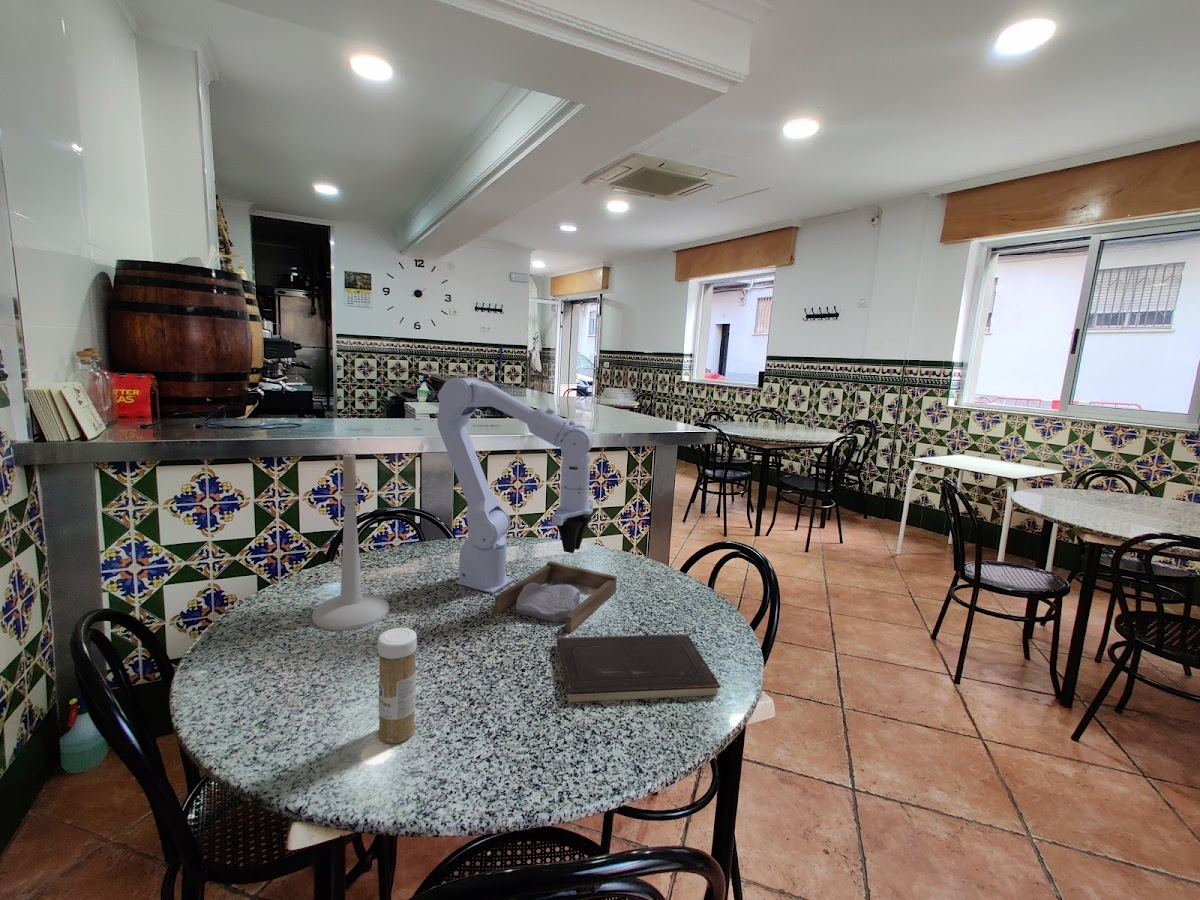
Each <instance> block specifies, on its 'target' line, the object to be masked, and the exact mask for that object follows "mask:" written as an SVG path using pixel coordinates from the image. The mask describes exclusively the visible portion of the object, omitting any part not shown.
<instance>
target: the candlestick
mask: <svg viewBox="0 0 1200 900" xmlns="http://www.w3.org/2000/svg"><path fill="white" fill-rule="evenodd" d="M356 468H357V466H356V454H350V452H348V454H343V455H342V469H343V471H342V476H343V477H342V478H343V483H342V484H343V487H342V488H343V490H341V491H339V492H338V495H340V496H341V503H342V504H343V506H344V512H343V527H342V528H343V530H342V531H343V533H342V556H341V558H342V559H341V577H340V578H341V579H340V582H341V584H340V595H337V596H334V597H331V598H330V599H328V600H326V601H325V600H324V602H322V603H320V605H318V606H317V607H316V608H315V609H314V610H313V612H312V617H311V618H312V623H313V624H314V625H315V626H317V627H318V628H321V629H324V630H331V631H347V630H348V631H349V630H355V629H360V628H365V627H368V626H370V625H373V624H375V623H378V622H379V621H381V620H383V619H384V618H385V617H387V615H388V613H389V611H390V605H389V603H388V601H387V600H386V599H384V598H383V597H381V596H379V595H376V594H372V593H366V592H363V591H362V589H363V587H362V577H361V562H360V550H359V549H360V548H359V547H360V546H359V534H358V522H357V519H358V518H357V511H356V504H357V503H358V502H359V498H358V496H359V495H360V494H361V493H362V491H360V490H357V485H356V483H357V481H356V480H357V479H356V478H357V477H356V475H357V473H356V471H357V470H356Z"/></svg>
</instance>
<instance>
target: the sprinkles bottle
mask: <svg viewBox="0 0 1200 900" xmlns="http://www.w3.org/2000/svg"><path fill="white" fill-rule="evenodd" d="M417 642H418V637H417V633H416V631H414V630H413V629H411V628H407V627H395V628H391V629H388V630H385V631H384V632H382V633H381V634H380V635H379V636H378V638H377V653H378V657H379V660H378V661H379V679H378V716H379V717H378V718H379V720H378V723H379V724H378V725H379V727H378V731H377V732H378V733H377V735H378V738H379V739H380V740H381V741H382V742H383V743H387V744H398V743H402V742H404V741H406V740H408V739H409V738H411V737H412V736H413V735H414V734H415V732H416V727H417V726H416V722H415V721H416V720H415V717H416V716H415V715H416V714H415V712H416V711H415V709H416V697H417V695H416V694H417V691H416V689H417V687H416V685H417V684H416V681H417V680H416V678H417V677H416V675H417V672H416V671H417V670H416V650H417V647H418V643H417Z"/></svg>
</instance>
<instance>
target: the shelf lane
mask: <svg viewBox="0 0 1200 900" xmlns="http://www.w3.org/2000/svg"><path fill="white" fill-rule="evenodd" d="M551 579H552V580H556V581H560V582H564V583H567V584H570V585H571V584H572V585H575V586H579V587H584V588H587V589H592V590H595V591H594V592H593V593H591V594H590V595H588V597H587V598H585V599H584V600H583V601H582V602H580V603H579V605H578V606H577V607H576V608H575V609H574V610H572V611H571V612H570V613H569V614H568V615H567V616H566V621H565V622H564V632H565V633H568V634H572V633H573V632H574V631H575V630H576V629H577V628H579V627H580V625H582V624H583V623H584V622H586V620H587V619H588V618H590V616H592V614H594V613H595V612H596V611H597V610H599V608H600V607H602V605H604V604H605V603H606V601H608V600H609V599H610V598H611V597H612V596H613V595H614V594H616V593H617V591H616V590H617V580H618V577H617V576H616V575H612V574H607V573H603V572H600V571H599V572H598V571H596V570H591V569H586V568H582V567H578V566H575V565H574V566H573V565H569V564H564V563H560V562H557V561H552V560H549V561H547V562H546V565H544V566H543V567H541V568H539V569H538V570H536V571H535V572H533V573H531V574H529V575H528V576H526V577H525V578H523V579H522V580H520V581H518V582H516V583H515V584H513V585H512V586H510V587H509V588H507V589H505V590H504V591H502V592H501V593H499V594H497V595H495V597H494V612H496V613H499V614H501V613H502V612H504V611H505V610H507V609H509V608H510V607H512V606H513V605H514V604H516V602H517V598H518V596H519V595H520V593H521V591H522V590H523V587H525V586H526V585H527V584H529V583H537V584H538V585H541V586H543V585H544V584H545V583H547V582H548V581H550V580H551Z"/></svg>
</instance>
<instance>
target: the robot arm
mask: <svg viewBox="0 0 1200 900" xmlns="http://www.w3.org/2000/svg"><path fill="white" fill-rule="evenodd" d="M437 398H438V399H437V400H438V402H439V405H438V411H437V413H438V414H437V421H436V422H437V423H436V424H437V428H438V431H439V433H440V436H441V439H442V441H443V444H444V446H445V450H446V452H447V454H448V457H449V459H450V462H451V465H452V467H453V471H454V472H455V475H456V478H457V480H458V483H459V485H460V489H461V491H462V493H463V496H464V499H465V502H466V504H467V509H466V515H465V519H466V522H467V525H468V527H467V536H468V539H467V540H466V541H464V543H463V544H462V546H461V547H460V551H459V555H458V556H459V558H458V559H459V560H458V561H459V562H458V564H459V565H458V566H459V567H458V580H457V581H456V584H458V585H461V586H464V587H469V588H471V589H476V590H478V591H479V590H480V591H483V592H487V593H490V594H494V593H495V592H498V591H499V590H501V589H503V588H504V587H505V586H507V585H508V584H510V583H512V582H514V578H513V577H509V576H506V575H507V571H506V569H507V546H508V545H507V544H508V542H507V541H508V540H507V539H506V533H507V532H508V531H509V530H510V527H511V517H510V515H509V514H508V513H507V511H506V510H505V509H504V508H503V507H502V505H501V502H500V501H499V499H497V498H496V497H495V496H493V494H492V491H491V489H490V486H489V484H488V481H487V479H486V475H485V473H484V470H483V469H482V466H481V463H480V460H479V457H478V455H477V453H476V449H475V445H473V442H472V439H471V436H470V434H469V431H468V428H467V424H468V423H469V420H470V418H471V416H472V415H473V413H474V412H475V411H476V410H477V409H478V408H480V407H481V408H483V407H484V408H485V407H492V408H494V409H496V410H498V411H501V413H504V414H507V415H509V417H512V418H514V419H517V420H519V421H520V422H523V423H524V424H526V426H527V428H528V431H529V432H530V434H533V435H534V436H536V437H538V438H540V439H542V440H543V441H545V442H546V443H549V444H551V445H553V446H554V447H556V448H559V449H560V451H561V452H562V463H561V478H560V479H561V480H560V499H559V506H558V507H557V509H556V511H555V512H554V513H553V514H552V515H551V524H552V525H555V526H556V528H557V531H558V532H559V535H560V539H561V543H562V548H563V552H566V553H569V554H574V553H575V550H577V551H578V550H579V549H580V547H581V545H582V541H583V538H584V534H585V531H586V530H587V527H588V525H589V523H590V522H591V520H592V515H591V514H593V511H594V500H591V499H589V496H590V495H589V493H590V491H589V489H590V478H591V477H590V476H591V475H590V473H591V463H590V461H591V452H589V451H590V450H591V449H592V447H593V445H594V435H593V434H592V432H591V431H590V430H589V429H588V428H587V427H586V426H584V425H580V424H579V425H578V424H577V423H576V421H574V420H572V419H571V420H567V419H565V418H563V417H562V416H560V415H558V414H556V413H555V412H556V410H555V409H554V408H552V407H548V408H545V407H540V408H538V409H534V408H533V407H530V406H529V405H527V404H526V403H525V402H523V401H521V400H519V399H518V398H516V397H514V396H512V395H510V394H509V393H508V392H506V391H504V390H503V389H500V388H499V387H497V386H495V385H494V384H492V383H490V382H488V381H483V380H482V379H480V378H478V377H475V376H468V377H451V378H449V379H447V380H445V382H444V384H443V385H442V387H440V390H439V392H438V393H437ZM576 424H577V425H576Z"/></svg>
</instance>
